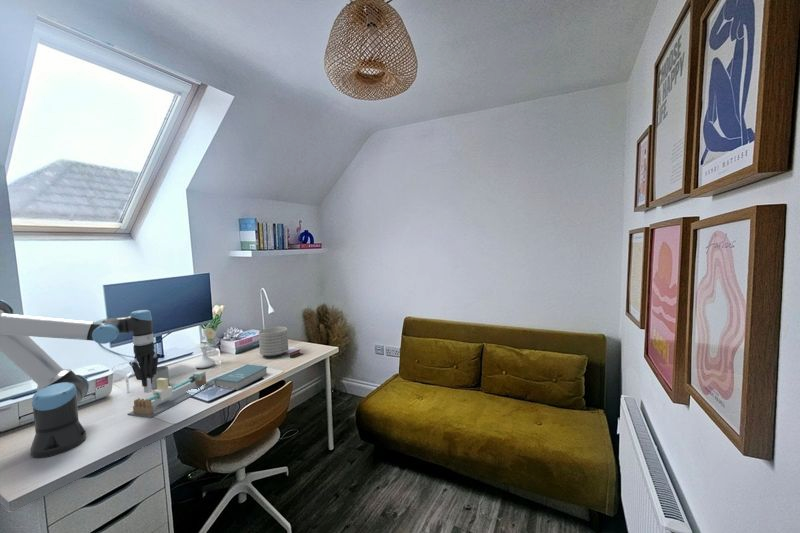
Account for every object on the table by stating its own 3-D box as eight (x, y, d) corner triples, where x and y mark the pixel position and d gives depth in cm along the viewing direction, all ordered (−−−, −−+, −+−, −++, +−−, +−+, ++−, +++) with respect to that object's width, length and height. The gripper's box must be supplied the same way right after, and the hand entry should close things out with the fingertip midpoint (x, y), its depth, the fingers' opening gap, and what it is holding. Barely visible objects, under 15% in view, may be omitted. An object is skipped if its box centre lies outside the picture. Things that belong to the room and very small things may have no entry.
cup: (159, 389, 176) (157, 372, 176) (147, 389, 178) (145, 371, 177) (173, 383, 185) (171, 366, 184) (161, 382, 186) (159, 365, 186)
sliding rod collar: (161, 400, 156) (159, 381, 156) (153, 400, 157) (152, 381, 157) (172, 395, 162) (171, 376, 161) (165, 394, 163) (164, 376, 162)
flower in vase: (200, 371, 202) (198, 332, 201) (191, 367, 208) (189, 330, 207) (221, 364, 214) (219, 327, 212) (212, 361, 220) (209, 325, 218)
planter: (283, 348, 243) (281, 325, 242) (292, 355, 228) (291, 330, 227) (256, 354, 231) (255, 330, 230) (264, 361, 216) (263, 335, 215)
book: (237, 390, 174) (237, 381, 173) (215, 387, 179) (214, 378, 179) (267, 374, 195) (267, 366, 195) (246, 371, 200) (246, 364, 200)
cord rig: (151, 417, 147) (150, 402, 146) (127, 414, 150) (126, 399, 149) (214, 384, 182) (213, 371, 181) (193, 382, 185) (192, 370, 184)
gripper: (135, 348, 143) (140, 399, 145) (163, 339, 156) (167, 386, 157) (122, 347, 145) (127, 397, 147) (151, 338, 158) (155, 385, 159)
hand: (148, 391), depth 152 cm, fingers closed
